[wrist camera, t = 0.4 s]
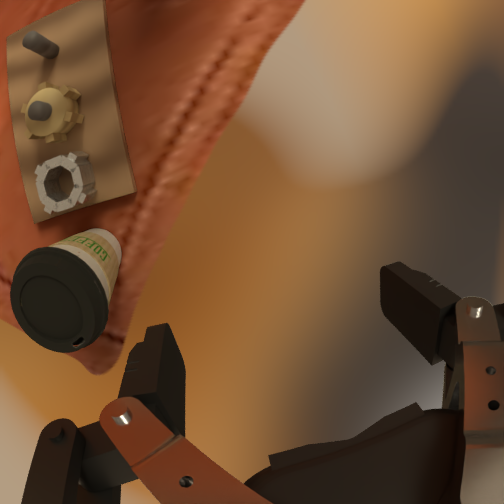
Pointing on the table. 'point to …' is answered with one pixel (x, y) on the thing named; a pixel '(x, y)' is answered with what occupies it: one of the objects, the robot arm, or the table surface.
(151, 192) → the table surface
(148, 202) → the table surface
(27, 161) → the gear board
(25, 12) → the table surface
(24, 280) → the coffee cup
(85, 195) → the steel gear
